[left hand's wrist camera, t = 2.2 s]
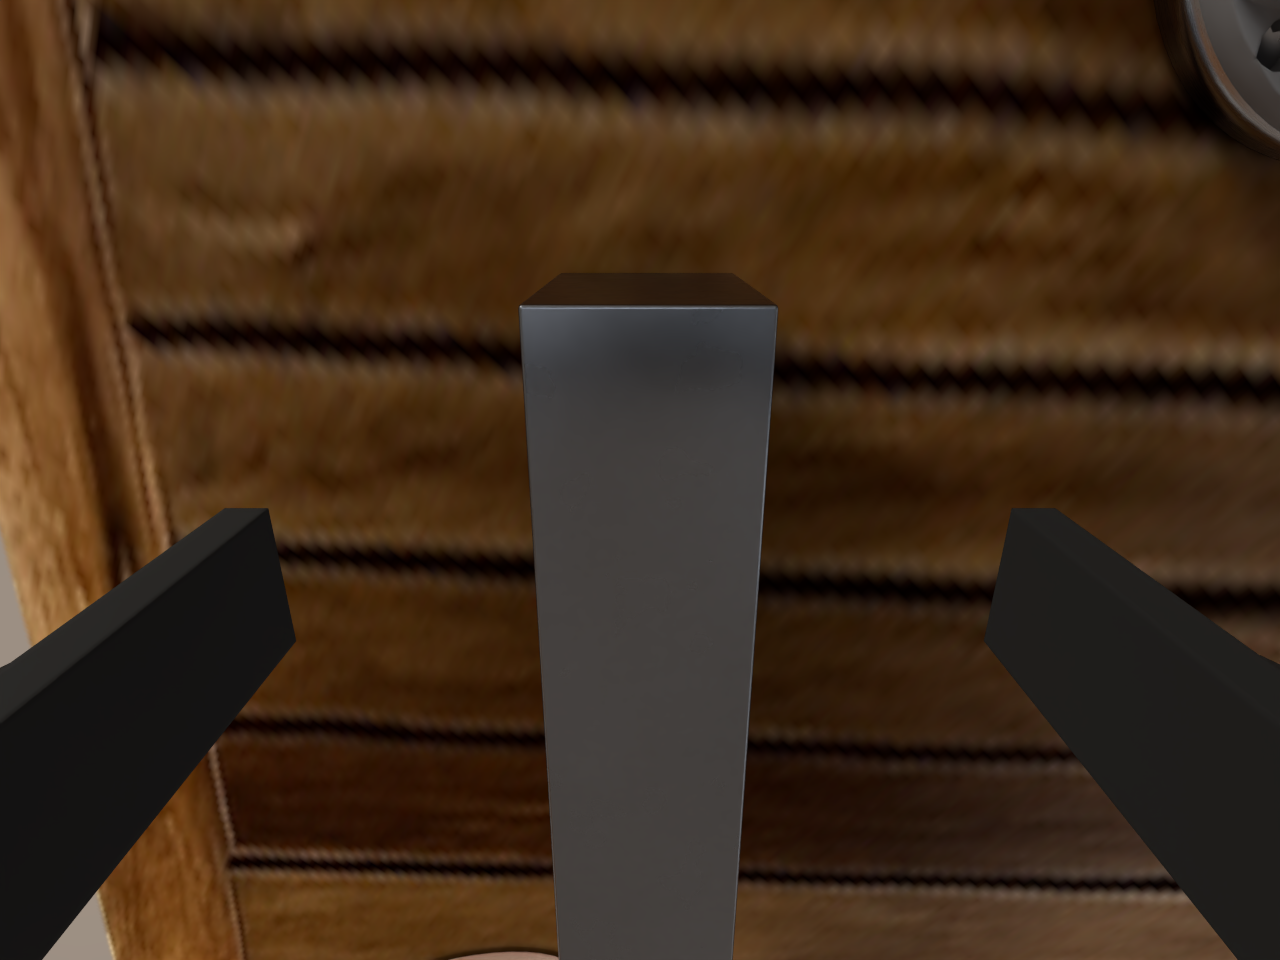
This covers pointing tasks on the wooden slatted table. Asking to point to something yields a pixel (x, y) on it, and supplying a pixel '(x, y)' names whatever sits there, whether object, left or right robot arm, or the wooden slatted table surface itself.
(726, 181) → the wooden slatted table surface
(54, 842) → the left robot arm
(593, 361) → the box
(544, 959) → the anatomical model
